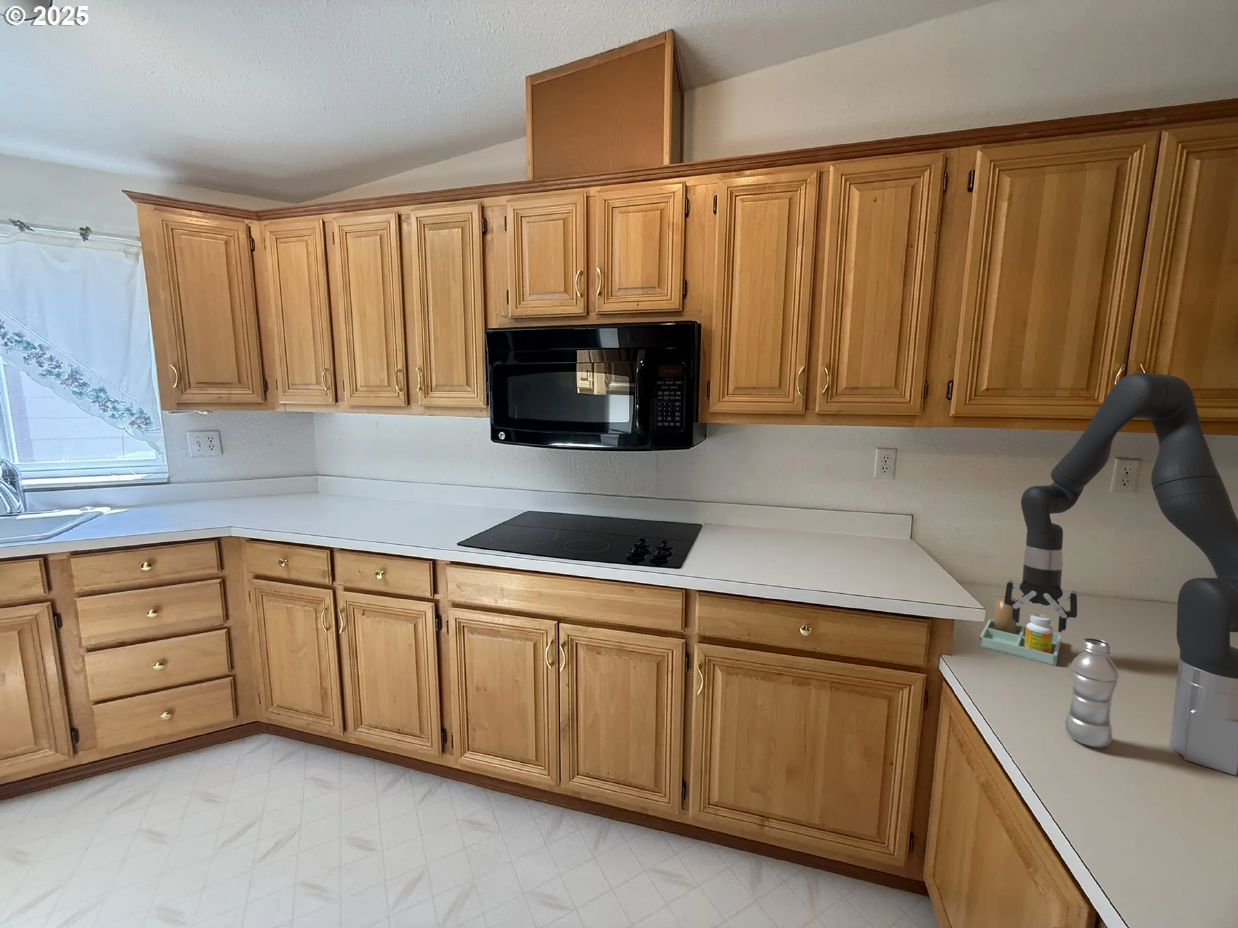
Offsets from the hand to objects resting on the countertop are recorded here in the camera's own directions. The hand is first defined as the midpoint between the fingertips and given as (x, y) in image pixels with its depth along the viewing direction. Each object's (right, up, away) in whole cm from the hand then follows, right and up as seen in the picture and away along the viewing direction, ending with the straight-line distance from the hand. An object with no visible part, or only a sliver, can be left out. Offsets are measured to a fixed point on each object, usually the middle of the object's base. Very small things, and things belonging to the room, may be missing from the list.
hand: (1038, 626), depth 132 cm
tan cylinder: (0, -6, +12) cm, 13 cm away
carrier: (0, -7, +7) cm, 10 cm away
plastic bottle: (-17, -12, -33) cm, 39 cm away
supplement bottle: (0, -7, +1) cm, 7 cm away
